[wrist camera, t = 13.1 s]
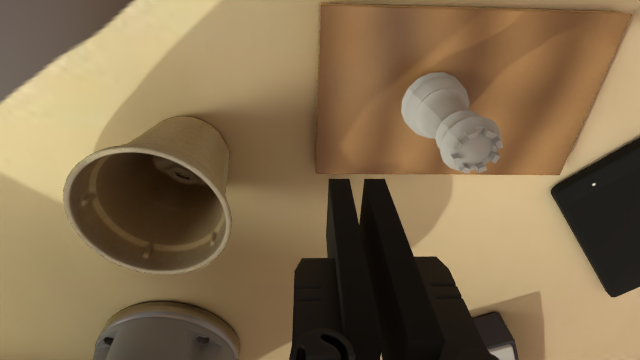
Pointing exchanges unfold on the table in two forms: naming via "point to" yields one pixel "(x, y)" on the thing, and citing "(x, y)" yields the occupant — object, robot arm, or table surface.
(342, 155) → the board
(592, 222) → the cell phone
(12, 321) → the table surface
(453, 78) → the rook chess piece
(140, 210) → the flower pot
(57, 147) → the table surface
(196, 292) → the table surface
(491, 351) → the calculator
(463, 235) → the table surface
